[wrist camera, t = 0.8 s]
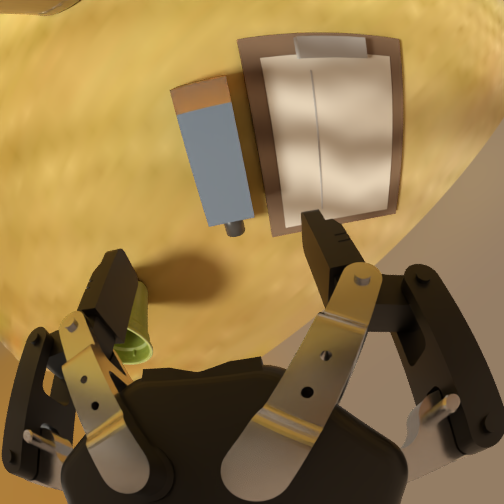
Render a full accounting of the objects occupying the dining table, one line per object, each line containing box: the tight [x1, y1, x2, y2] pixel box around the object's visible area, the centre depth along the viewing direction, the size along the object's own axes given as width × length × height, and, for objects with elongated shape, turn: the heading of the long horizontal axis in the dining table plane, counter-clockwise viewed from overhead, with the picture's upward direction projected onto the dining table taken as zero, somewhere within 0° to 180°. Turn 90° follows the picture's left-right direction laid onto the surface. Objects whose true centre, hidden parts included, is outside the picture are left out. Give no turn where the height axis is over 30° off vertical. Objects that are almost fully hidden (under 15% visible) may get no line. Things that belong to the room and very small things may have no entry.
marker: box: [170, 75, 254, 237], centre depth 22 cm, size 14×4×4 cm, turn 10°
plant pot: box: [113, 281, 153, 365], centre depth 29 cm, size 9×9×9 cm
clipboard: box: [237, 33, 403, 237], centre depth 22 cm, size 20×15×2 cm
